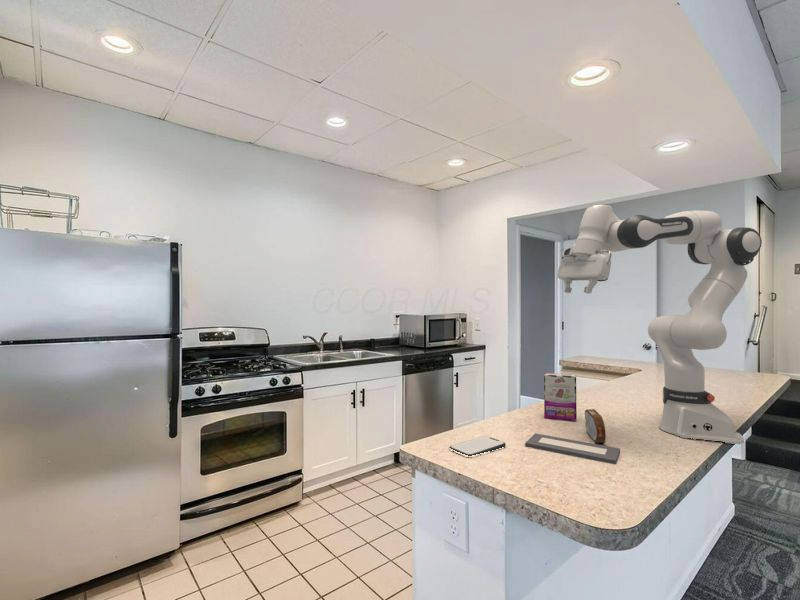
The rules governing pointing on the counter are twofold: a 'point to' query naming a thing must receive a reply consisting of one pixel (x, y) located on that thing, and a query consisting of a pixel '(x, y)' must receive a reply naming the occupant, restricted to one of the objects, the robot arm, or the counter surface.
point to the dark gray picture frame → (574, 448)
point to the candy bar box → (560, 396)
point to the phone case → (478, 445)
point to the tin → (595, 426)
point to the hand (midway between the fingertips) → (576, 292)
